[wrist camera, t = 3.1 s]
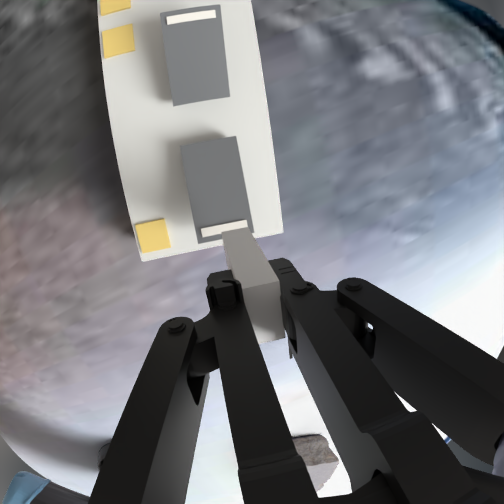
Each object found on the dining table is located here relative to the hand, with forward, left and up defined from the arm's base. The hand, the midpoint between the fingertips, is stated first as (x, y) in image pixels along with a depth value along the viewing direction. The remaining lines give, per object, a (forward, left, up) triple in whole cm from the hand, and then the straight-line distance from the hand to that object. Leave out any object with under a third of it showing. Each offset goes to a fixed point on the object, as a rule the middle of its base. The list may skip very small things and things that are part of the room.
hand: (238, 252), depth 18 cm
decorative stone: (+6, -46, -13) cm, 48 cm away
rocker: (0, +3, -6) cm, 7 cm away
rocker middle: (0, +13, -6) cm, 14 cm away
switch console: (-1, +13, -13) cm, 18 cm away
